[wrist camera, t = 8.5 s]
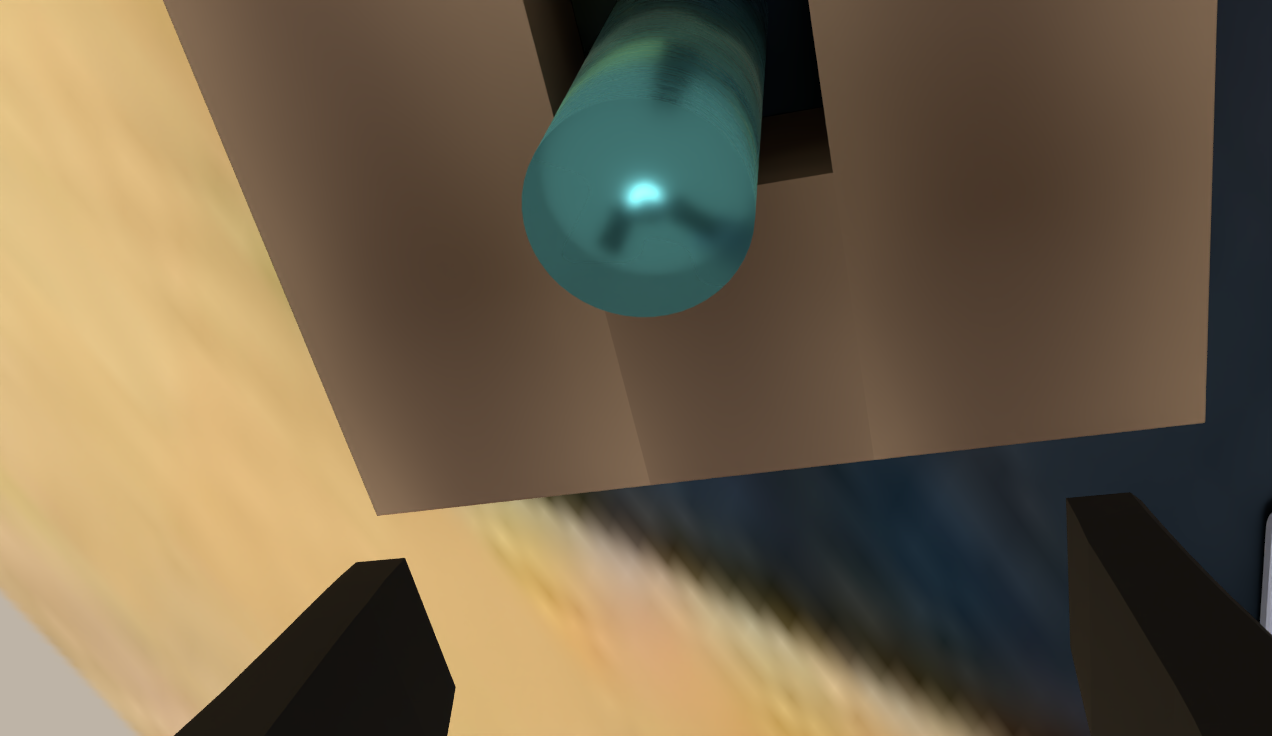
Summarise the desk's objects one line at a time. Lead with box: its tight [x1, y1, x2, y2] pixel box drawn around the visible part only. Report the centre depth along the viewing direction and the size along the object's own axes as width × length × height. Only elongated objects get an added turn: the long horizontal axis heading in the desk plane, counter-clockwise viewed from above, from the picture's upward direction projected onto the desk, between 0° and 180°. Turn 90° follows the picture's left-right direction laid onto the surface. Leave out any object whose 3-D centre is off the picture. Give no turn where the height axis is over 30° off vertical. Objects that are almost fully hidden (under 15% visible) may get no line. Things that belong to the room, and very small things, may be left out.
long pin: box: [522, 0, 768, 317], centre depth 15 cm, size 2×2×8 cm
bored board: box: [163, 0, 1217, 516], centre depth 17 cm, size 14×14×3 cm
